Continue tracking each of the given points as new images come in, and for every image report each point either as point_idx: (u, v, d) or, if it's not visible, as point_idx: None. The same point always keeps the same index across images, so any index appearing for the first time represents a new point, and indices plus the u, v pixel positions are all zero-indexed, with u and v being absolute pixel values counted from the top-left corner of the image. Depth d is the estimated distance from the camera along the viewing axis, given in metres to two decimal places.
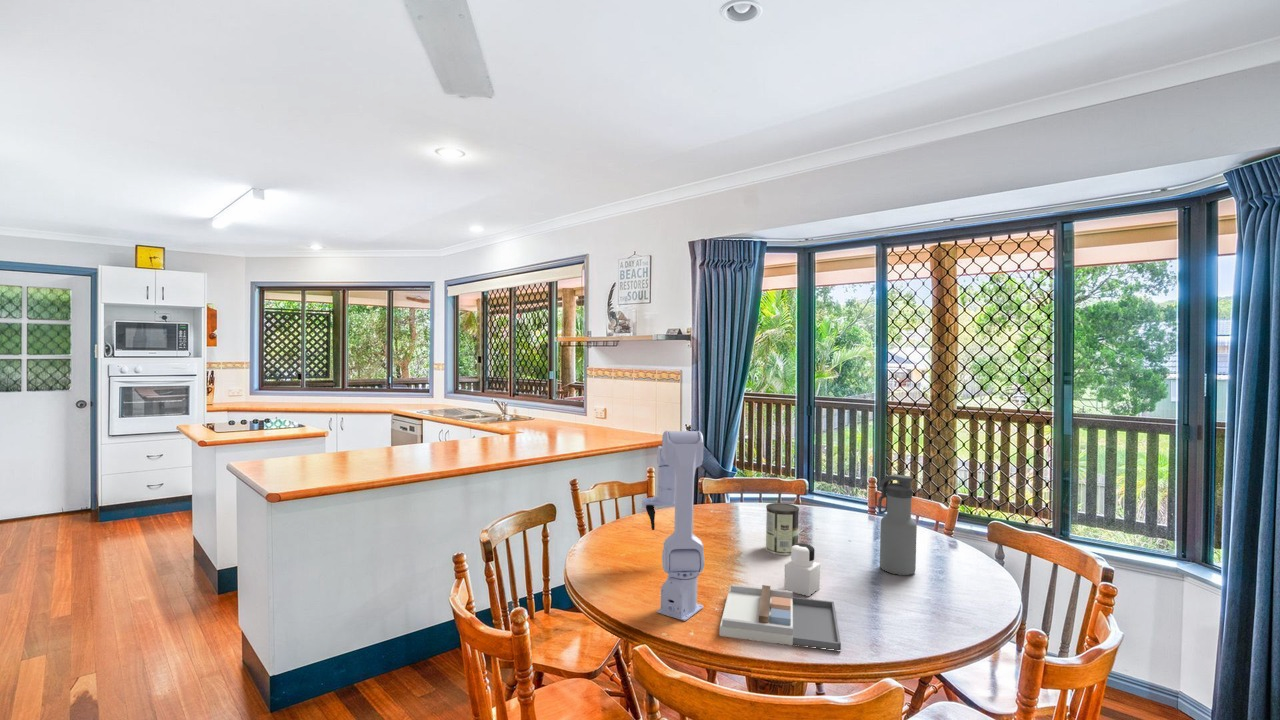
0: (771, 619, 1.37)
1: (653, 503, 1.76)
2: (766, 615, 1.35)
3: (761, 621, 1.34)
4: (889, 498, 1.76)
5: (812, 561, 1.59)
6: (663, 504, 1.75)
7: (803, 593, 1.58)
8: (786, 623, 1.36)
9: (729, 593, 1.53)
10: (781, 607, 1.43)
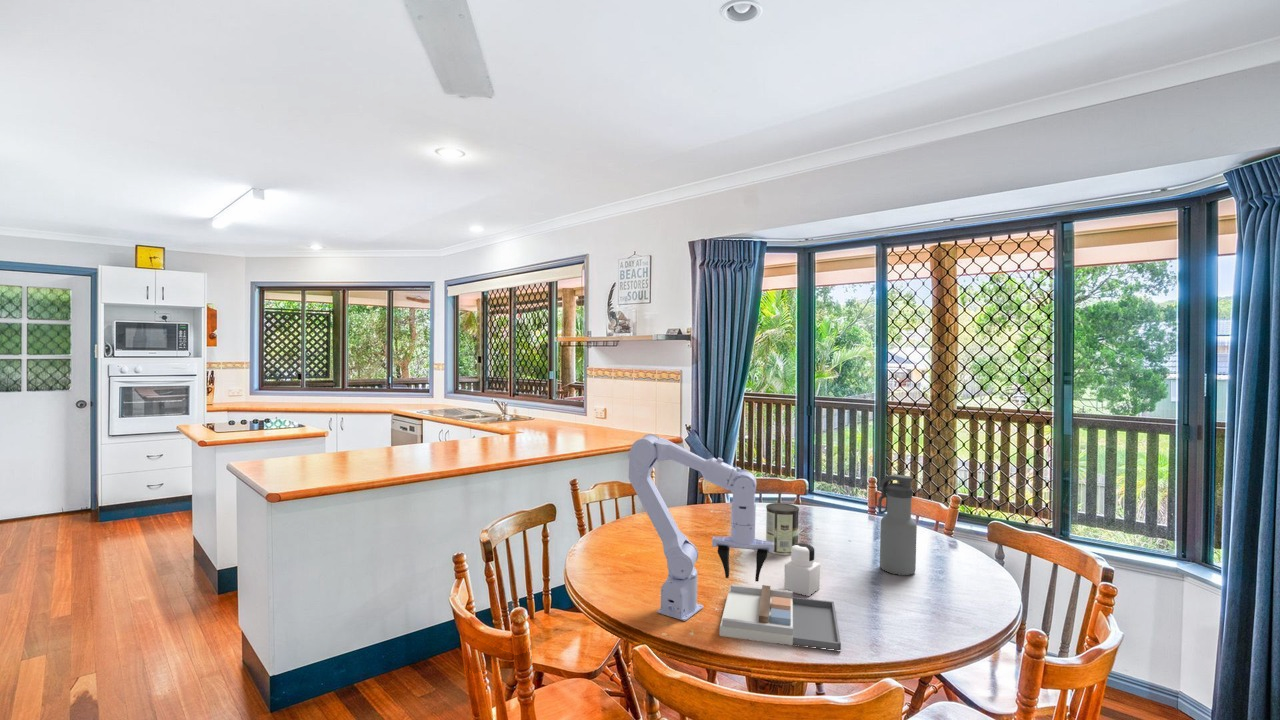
0: (771, 619, 1.37)
1: (724, 542, 1.43)
2: (766, 615, 1.35)
3: (761, 621, 1.34)
4: (889, 498, 1.76)
5: (812, 561, 1.59)
6: (736, 544, 1.42)
7: (803, 593, 1.58)
8: (786, 623, 1.36)
9: (729, 593, 1.53)
10: (781, 607, 1.43)
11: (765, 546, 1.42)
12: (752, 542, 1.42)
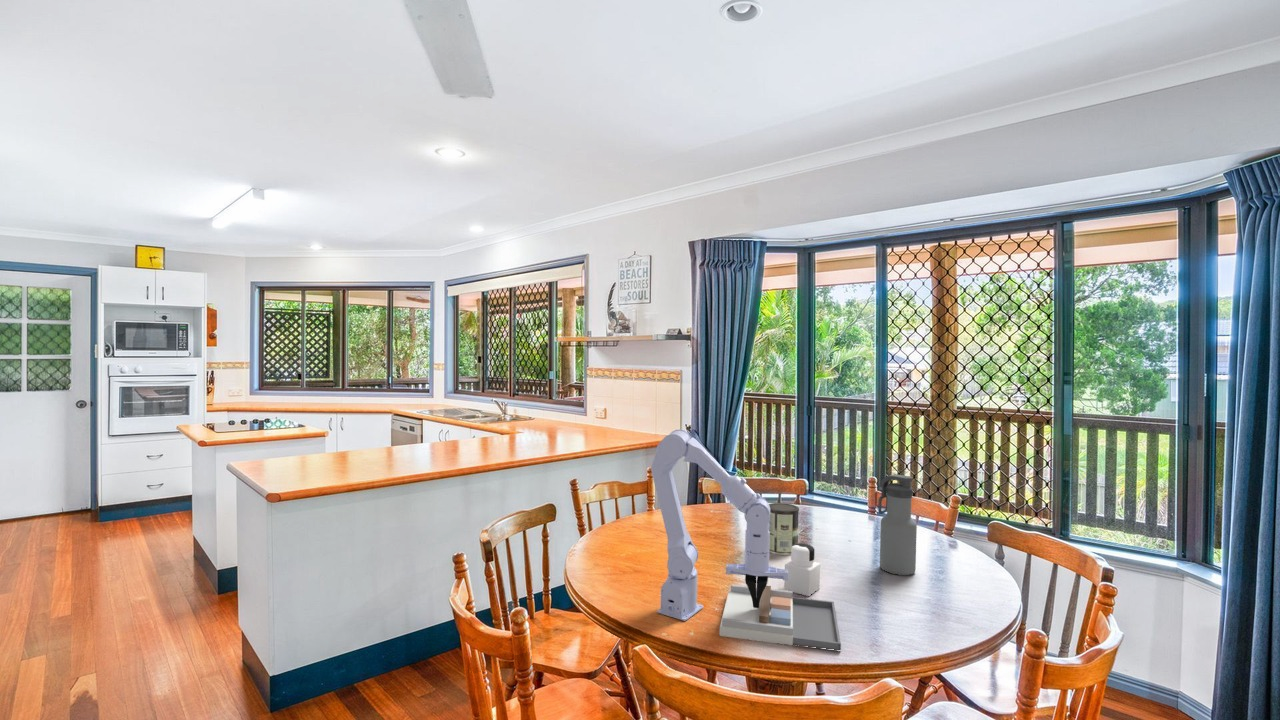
0: (771, 619, 1.37)
1: (738, 570, 1.43)
2: (766, 615, 1.35)
3: (761, 621, 1.34)
4: (889, 498, 1.76)
5: (812, 561, 1.59)
6: (750, 572, 1.41)
7: (803, 593, 1.58)
8: (786, 623, 1.36)
9: (729, 593, 1.53)
10: (781, 607, 1.43)
11: (779, 574, 1.41)
12: (766, 570, 1.41)
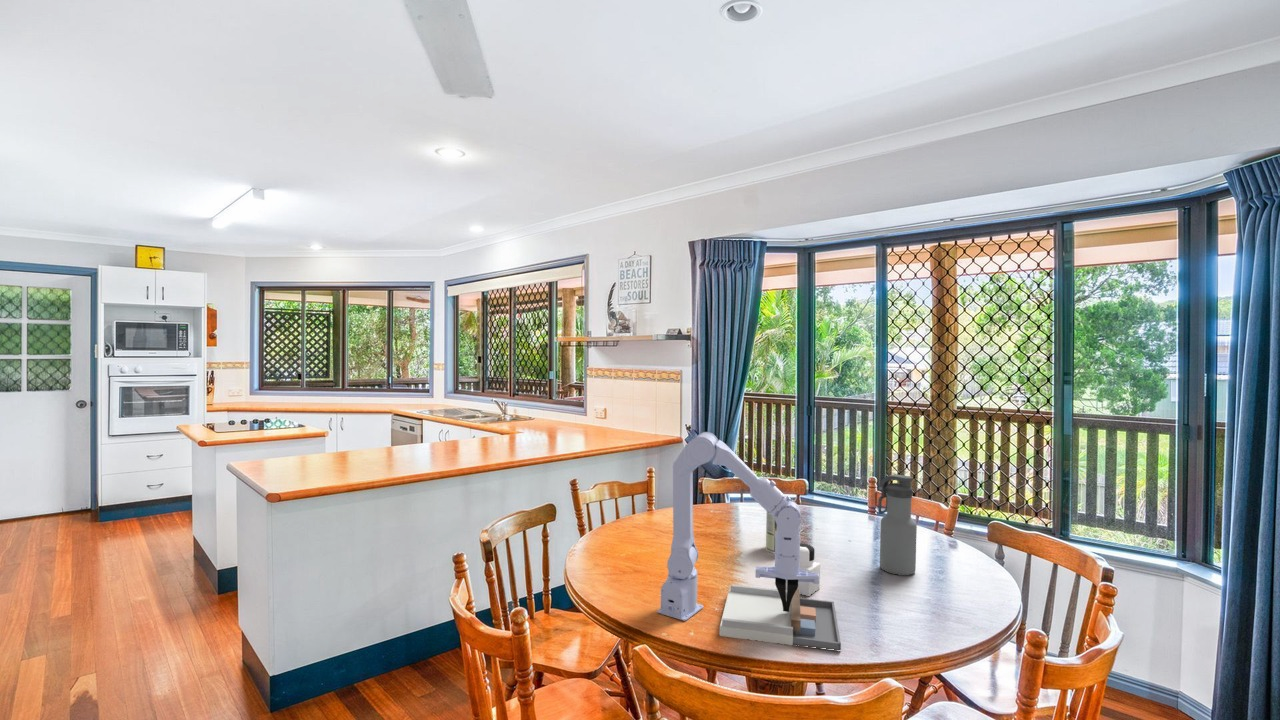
0: None
1: (768, 573, 1.41)
2: (799, 619, 1.33)
3: (794, 625, 1.33)
4: (889, 498, 1.76)
5: (812, 561, 1.59)
6: (780, 576, 1.39)
7: (803, 593, 1.58)
8: (811, 633, 1.35)
9: (729, 593, 1.53)
10: (806, 617, 1.42)
11: (810, 578, 1.39)
12: (797, 573, 1.40)
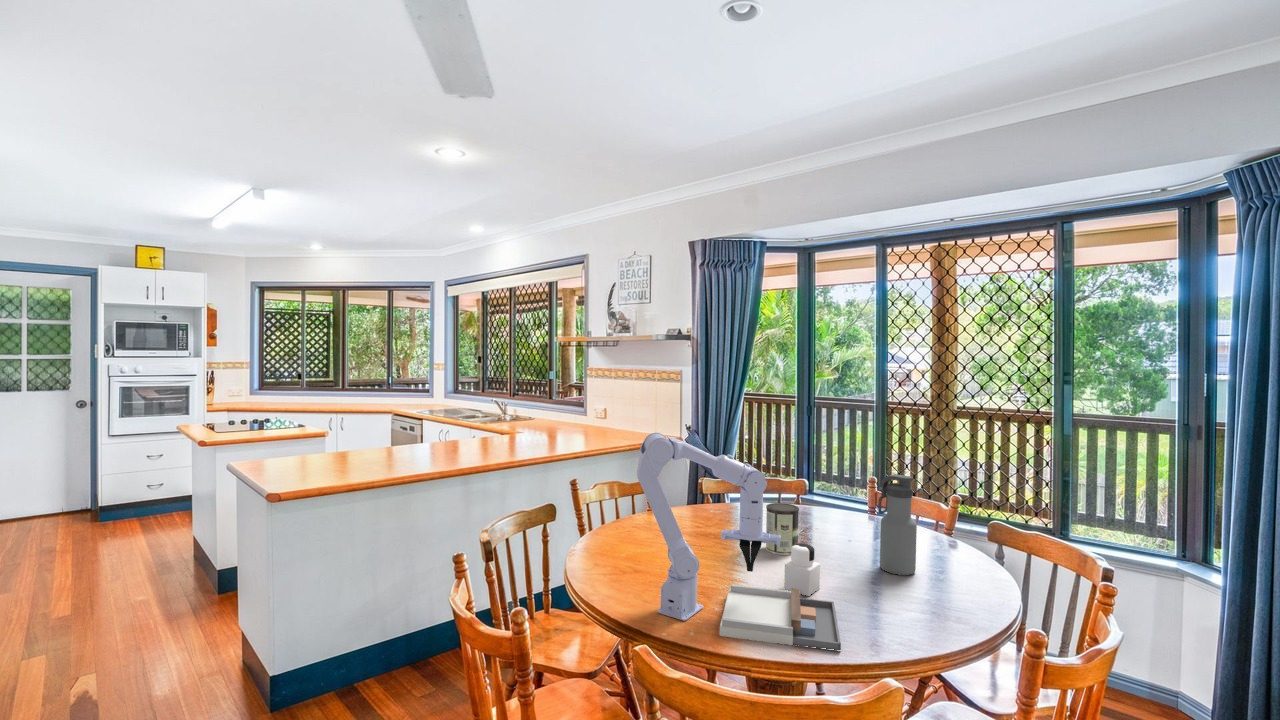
0: None
1: (733, 535, 1.49)
2: (799, 619, 1.33)
3: (794, 625, 1.33)
4: (889, 498, 1.76)
5: (812, 561, 1.59)
6: (744, 537, 1.47)
7: (803, 593, 1.58)
8: (811, 633, 1.35)
9: (729, 593, 1.53)
10: (806, 617, 1.42)
11: (772, 539, 1.47)
12: (760, 535, 1.47)
